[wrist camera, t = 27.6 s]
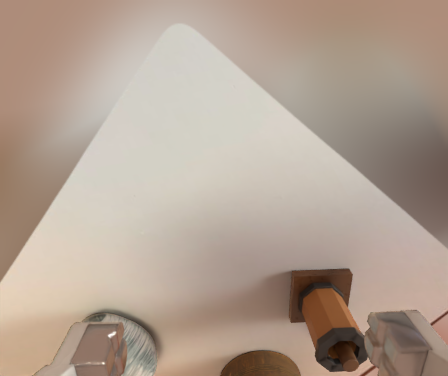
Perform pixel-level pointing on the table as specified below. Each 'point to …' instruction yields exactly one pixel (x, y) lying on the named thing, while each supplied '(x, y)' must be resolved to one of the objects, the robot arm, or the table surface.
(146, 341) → the grey green striped ellipsoid
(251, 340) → the table surface
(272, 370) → the wooden container
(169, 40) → the table surface
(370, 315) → the robot arm
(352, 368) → the stand
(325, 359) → the orange-brown octagonal tube
